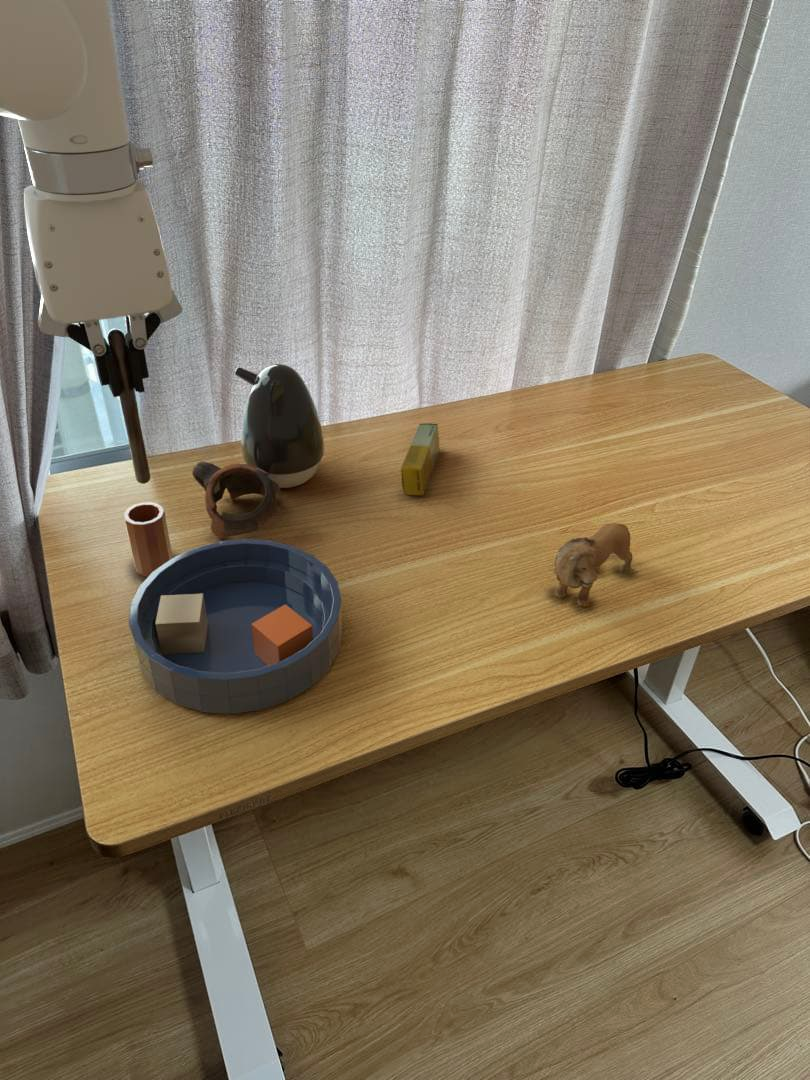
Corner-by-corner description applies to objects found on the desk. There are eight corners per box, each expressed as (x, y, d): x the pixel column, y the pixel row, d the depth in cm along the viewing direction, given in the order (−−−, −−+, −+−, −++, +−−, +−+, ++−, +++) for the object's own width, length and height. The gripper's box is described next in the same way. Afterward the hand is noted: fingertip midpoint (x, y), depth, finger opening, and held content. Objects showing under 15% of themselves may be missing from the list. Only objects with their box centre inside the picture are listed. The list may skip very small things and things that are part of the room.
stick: (138, 488, 78) (108, 333, 68) (135, 480, 79) (104, 327, 69) (153, 484, 79) (124, 331, 69) (149, 477, 80) (121, 324, 70)
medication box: (420, 448, 109) (418, 422, 107) (440, 449, 109) (439, 422, 107) (402, 495, 100) (400, 467, 98) (423, 496, 99) (422, 468, 97)
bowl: (166, 747, 69) (157, 708, 66) (119, 607, 82) (109, 569, 79) (374, 675, 76) (374, 637, 73) (299, 557, 90) (297, 521, 87)
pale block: (161, 654, 76) (155, 624, 74) (166, 625, 80) (160, 595, 77) (204, 652, 77) (199, 621, 74) (208, 623, 80) (203, 593, 78)
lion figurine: (580, 633, 82) (596, 565, 76) (534, 611, 84) (546, 543, 79) (639, 562, 91) (657, 496, 86) (596, 544, 94) (611, 479, 88)
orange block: (280, 677, 75) (278, 646, 72) (254, 654, 77) (251, 623, 74) (314, 655, 77) (312, 625, 75) (287, 634, 79) (285, 604, 77)
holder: (139, 581, 86) (128, 528, 81) (131, 559, 88) (120, 507, 84) (177, 571, 87) (168, 518, 83) (168, 550, 90) (158, 498, 86)
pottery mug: (300, 506, 98) (295, 476, 91) (257, 569, 95) (247, 543, 87) (218, 461, 100) (206, 428, 92) (173, 521, 97) (156, 492, 89)
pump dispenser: (258, 450, 107) (249, 343, 98) (334, 461, 106) (332, 353, 97) (230, 492, 99) (217, 379, 90) (311, 504, 98) (306, 391, 89)
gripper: (173, 151, 67) (200, 357, 78) (-33, 165, 61) (28, 386, 72) (197, 172, 62) (222, 390, 73) (-25, 190, 56) (39, 424, 67)
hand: (125, 387), depth 72 cm, fingers closed on stick, 1 cm apart
